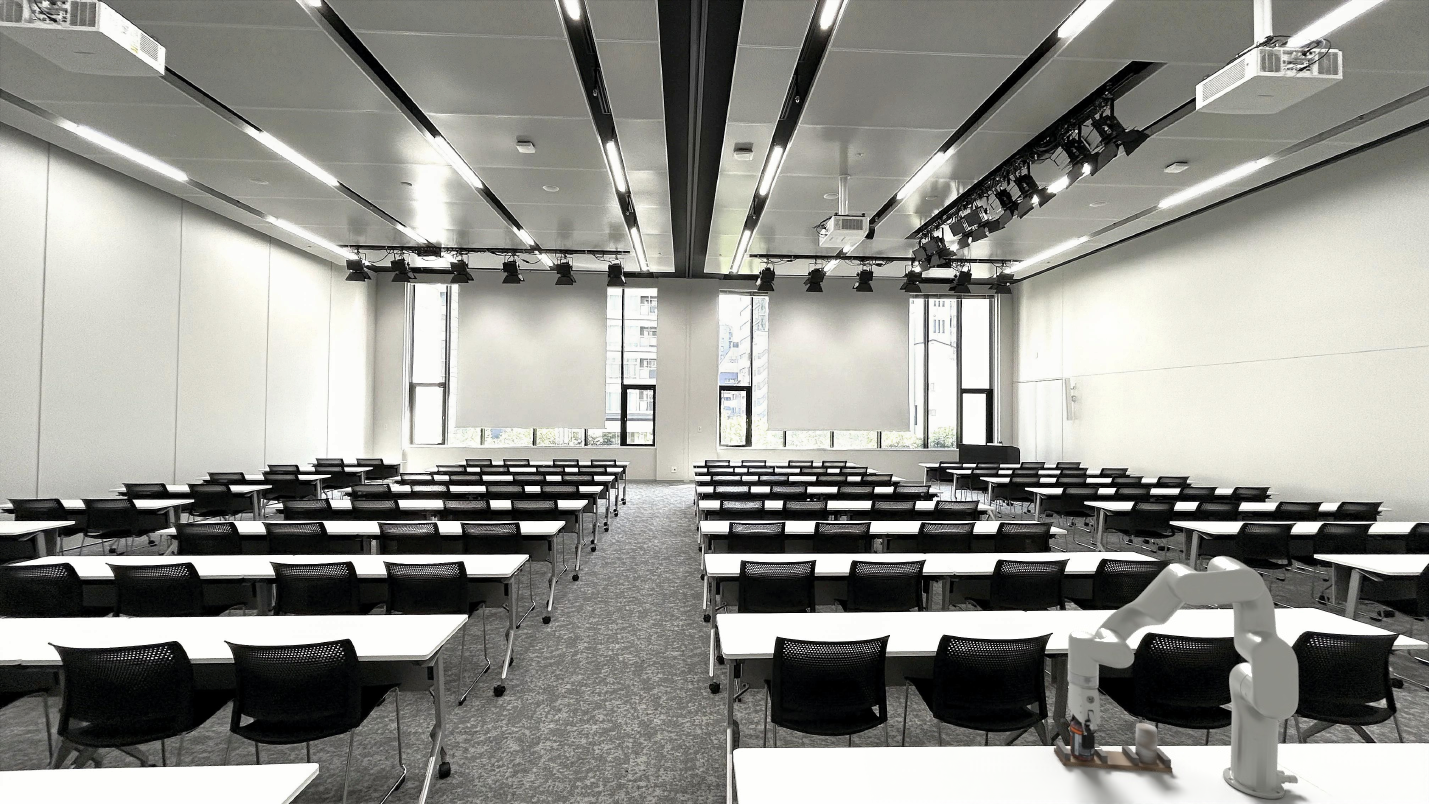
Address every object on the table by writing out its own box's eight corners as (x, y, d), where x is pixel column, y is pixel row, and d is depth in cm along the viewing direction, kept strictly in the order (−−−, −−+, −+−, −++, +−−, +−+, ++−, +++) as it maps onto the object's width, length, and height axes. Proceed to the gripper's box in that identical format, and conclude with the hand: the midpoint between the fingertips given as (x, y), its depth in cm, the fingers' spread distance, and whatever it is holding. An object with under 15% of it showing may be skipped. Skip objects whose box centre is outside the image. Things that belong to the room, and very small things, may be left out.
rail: (1158, 758, 188) (1158, 722, 188) (1172, 772, 181) (1173, 735, 181) (1053, 751, 191) (1054, 716, 191) (1063, 765, 184) (1064, 729, 184)
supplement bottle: (1070, 747, 191) (1071, 708, 190) (1094, 753, 188) (1095, 714, 187) (1069, 757, 186) (1070, 718, 185) (1094, 764, 183) (1094, 723, 182)
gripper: (1112, 692, 177) (1110, 758, 178) (1083, 665, 194) (1082, 725, 195) (1082, 691, 178) (1081, 757, 178) (1056, 664, 195) (1055, 724, 196)
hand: (1081, 740), depth 187 cm, fingers open, 6 cm apart
